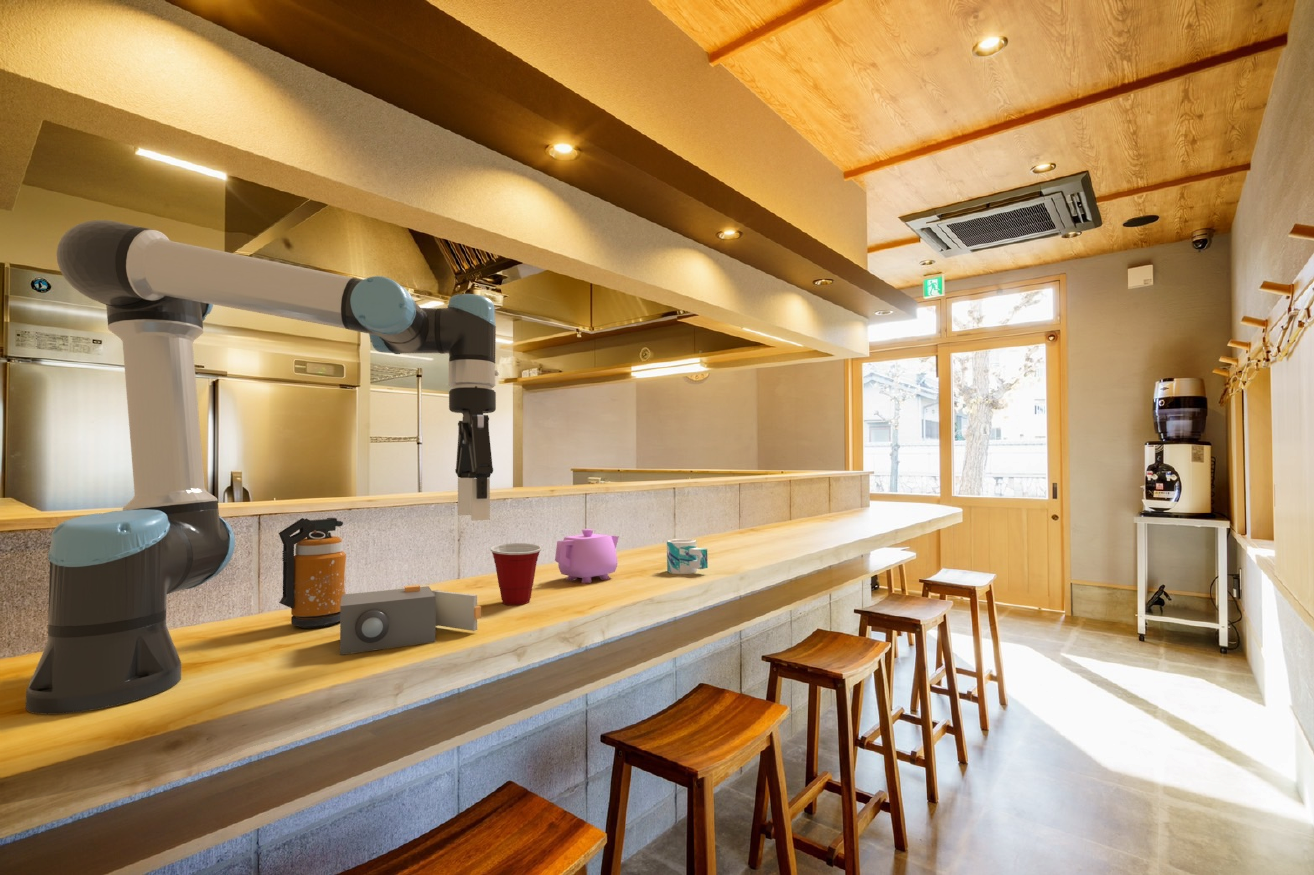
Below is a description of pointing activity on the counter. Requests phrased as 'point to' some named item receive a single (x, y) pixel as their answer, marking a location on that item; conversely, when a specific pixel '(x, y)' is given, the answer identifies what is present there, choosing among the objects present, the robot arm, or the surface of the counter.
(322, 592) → the canister
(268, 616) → the counter surface
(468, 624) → the side door
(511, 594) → the plastic cup
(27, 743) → the counter surface
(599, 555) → the teapot
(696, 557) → the mug
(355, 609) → the camera body
